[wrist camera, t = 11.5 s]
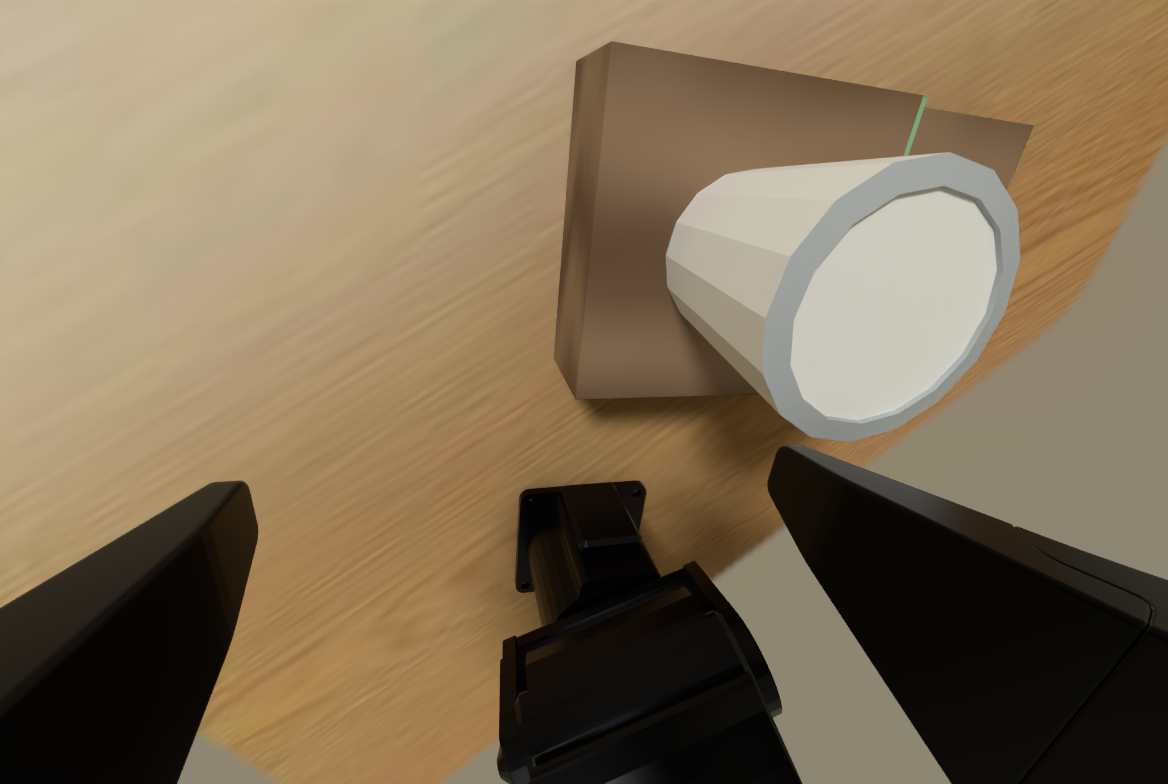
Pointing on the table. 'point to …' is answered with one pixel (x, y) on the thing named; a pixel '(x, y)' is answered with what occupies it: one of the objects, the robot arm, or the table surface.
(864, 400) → the white tapered cup
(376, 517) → the table surface
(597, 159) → the stepped riser
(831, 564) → the robot arm
